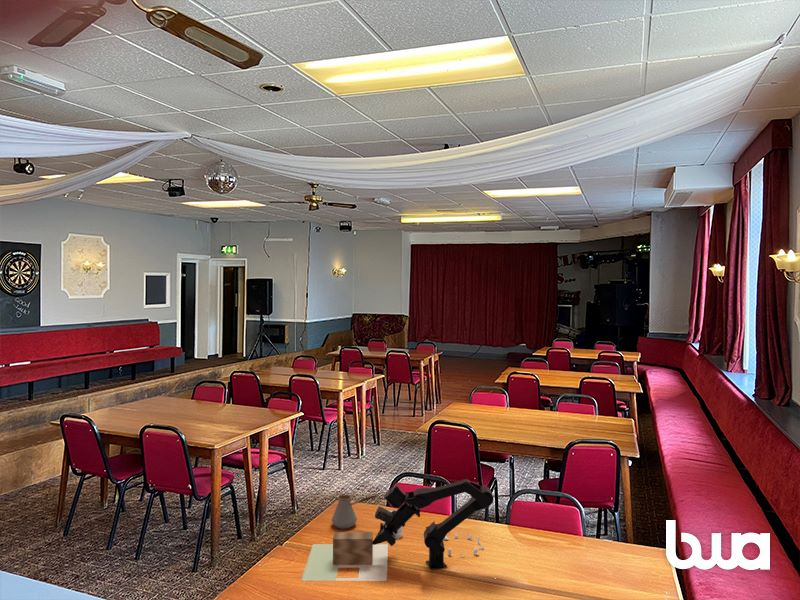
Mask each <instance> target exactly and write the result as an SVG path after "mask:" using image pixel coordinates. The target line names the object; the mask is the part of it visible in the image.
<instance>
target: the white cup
mask: <svg viewBox="0 0 800 600" xmlns="http://www.w3.org/2000/svg"><path fill="white" fill-rule="evenodd" d="M393 510H395V511H396V510H397V509H390V510H388V511H390V512H392V511H393ZM403 530H404V527H403V526H402V527H401V528H400V529H399V530H398V533H397V534H395V533H394V532H393V533H394V534H395V535H396V540H399V539H401V538H402V537H403Z"/></svg>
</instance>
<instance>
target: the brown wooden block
mask: <svg viewBox="0 0 800 600" xmlns="http://www.w3.org/2000/svg"><path fill="white" fill-rule="evenodd" d="M373 538H374V532H373V531H372V532H371V531H370V532H364V531H363V532H349V531H348V532H347V531H346V532H342V531H341V532H338V531H337V532H334V533H333V537H332V544H333V565H372V561H373V544H372V542H373V540H374V539H373Z"/></svg>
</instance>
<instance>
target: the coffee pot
mask: <svg viewBox="0 0 800 600" xmlns="http://www.w3.org/2000/svg"><path fill="white" fill-rule="evenodd" d="M374 498H375V499H376V500H379V497H378V495H377V494H375V495H371V496H367V497H364V498H362V499H359V500H358V501H354V502H351V499H352V496H351V495H349V494H341V495H338V496H337V500H338V503H337V505H336V508H335V510H334V512H333V515H332V517H331V523H332V524H333V525H334V526H335V527H336V528H337V529H340V530H341V529H342V530H344V529H345V530H347V529H351V528H353V526H354V525H355V524H356V523H357V520H358V517H357V515H356V512H355V511H354V508H353V506H354V505H356V504H359V503H363V502H366V501H369V500H371V499H372V500H373V499H374Z"/></svg>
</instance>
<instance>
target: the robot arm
mask: <svg viewBox="0 0 800 600" xmlns="http://www.w3.org/2000/svg"><path fill="white" fill-rule="evenodd" d="M464 493H466V494H467V495H469V496H471V497H470V499H468V501H467V502H466V503H465V504H462V506H461V507H459V508H458V509H457V510H455V511H454V512H453V513H451V514H450V515H449V516H448V517H446V518H445V519H444V520H443V521H441V522H439V523H435V521H432V522H431V524H430V525H428V526H425V530H424V532H423V540H424V541H423V542H424V545H425V547H426V548H427V549H428V560H425V563H426V564H427V566H428V567H429V568H430V569H431V570H436V569H444V568H447V567H448V565H447V564H446V562H445V561H444V560H445V559H444V557H445V556H444V555H445V549H446V547H445V544H444V543H445V542H444V540H445V539H444V538H445V536H447V535H448V533H450V532H451V531H453V530H454V529H455V528H456V527H458V526H459V525H460V524H461V523H463V522H464V521H465V520H467V519H468V518H469V517H470V516H472V515H473V514H474V513H475V512H478V511H482V510H484V509H486V508H489V507H490V506H491V505H492V504H493V503H494V495H493V493H492V491H491V490H490V488H489V487H487V486H484V485H480V484H478V483H476V482H472V481H470V480H469V479H467V478H463V479H461V480H459V481H455V482H451V483H447V484H445V485H440V486H437V487H434V488H432V487H421V488H416V489H414V490H413V491H406V492H404V491H403V490H402V489H401V488H400V486H399V485H398V484H395V485H394V486H392V487H390V488H389V489H388V490H387V491H386V492H385V493H384V495H383V499H385V500H386V502H387V503H389V504H390V506H391V507H393V508H394V509H392V510H393V511H392V512H390V511H389V510H388V509H387V508H384V507H382V506H379V505H378V507H377V508H376V511H375V513H374V518H375V519H377V520H380V521H382V522H383V523H382V522H380V524H379V530H378V533H376V535H375V537H374V539H373V542H372V544H373V545H376V544H383V543H385V542H386V543H388V545H390V546H391V547H393V546H394V545H395V544H396V543H397V542H396V541H397V539H396V535H395V534H397V533H398V530H399V529H400V528H401V527H402V526H403V528H404V527H406V523H408V522H409V521H410V520H411V518H413V516H414V515H416V517H418V518H420V517H421V509H423V508H425V507H428V506H430V505H432V504H433V503H434V502H436V501H438V500H442V499H446V498H449V497H453V496H456V495H461V494H464ZM395 510H396V511H395ZM393 532H394V533H395V534H394V533H393Z"/></svg>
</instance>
